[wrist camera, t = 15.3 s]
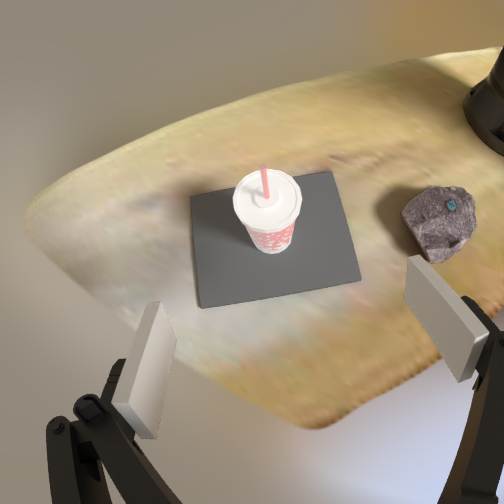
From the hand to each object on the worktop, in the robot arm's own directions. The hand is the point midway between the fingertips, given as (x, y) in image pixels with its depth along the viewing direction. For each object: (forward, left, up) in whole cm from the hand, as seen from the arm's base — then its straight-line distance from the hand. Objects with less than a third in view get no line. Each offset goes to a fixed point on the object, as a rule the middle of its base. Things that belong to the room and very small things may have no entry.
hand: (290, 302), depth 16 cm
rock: (-21, -8, -19) cm, 29 cm away
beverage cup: (0, -11, -18) cm, 21 cm away
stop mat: (0, -11, -18) cm, 21 cm away
